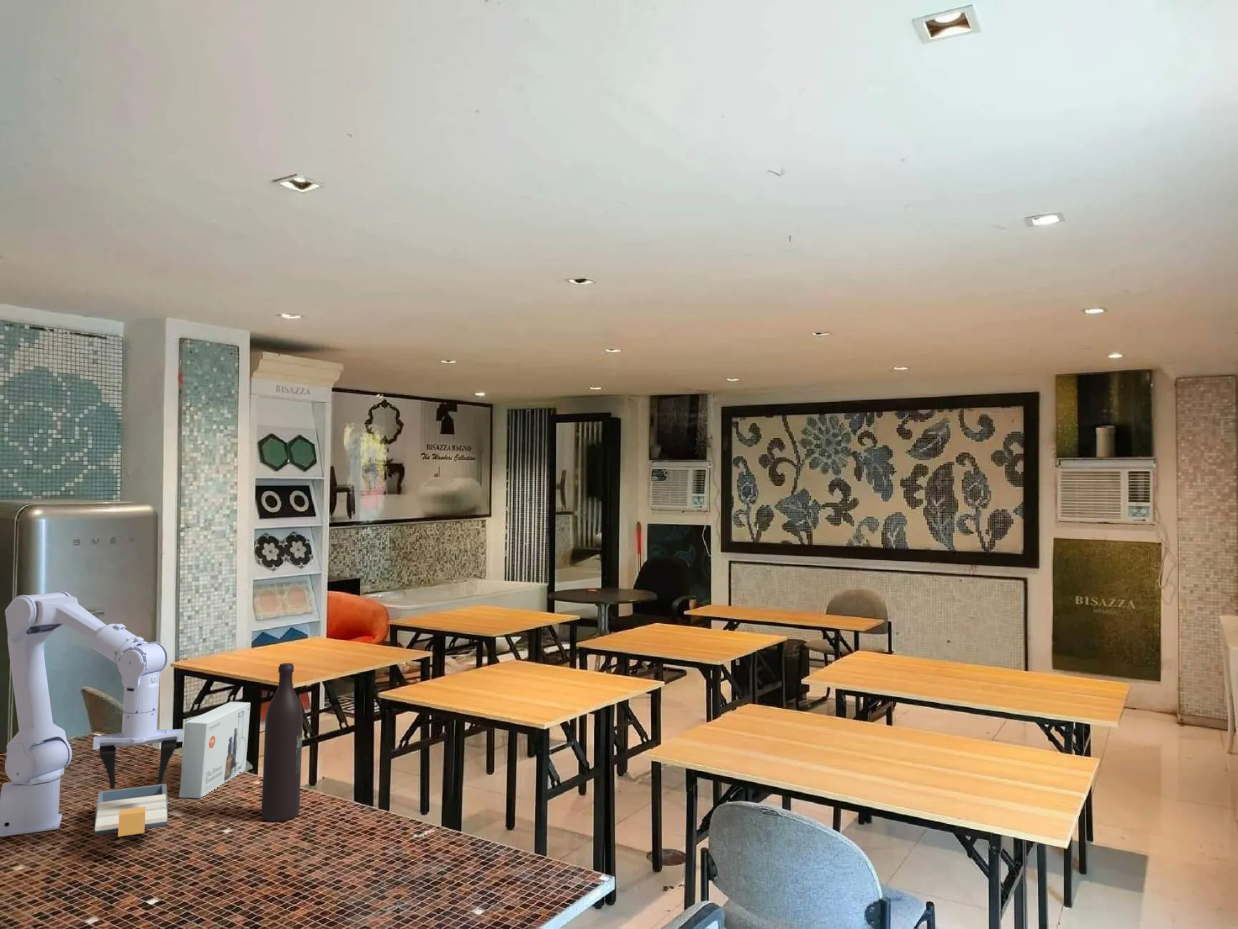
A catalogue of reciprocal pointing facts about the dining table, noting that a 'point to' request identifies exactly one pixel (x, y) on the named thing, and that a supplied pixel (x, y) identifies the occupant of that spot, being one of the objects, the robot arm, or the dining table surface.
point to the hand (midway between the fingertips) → (136, 784)
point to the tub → (128, 794)
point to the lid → (131, 814)
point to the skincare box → (214, 749)
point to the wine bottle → (282, 751)
